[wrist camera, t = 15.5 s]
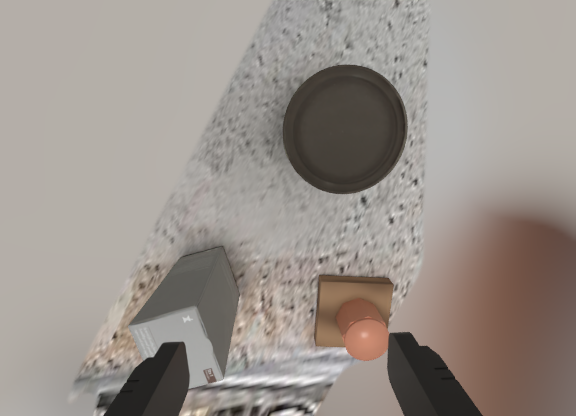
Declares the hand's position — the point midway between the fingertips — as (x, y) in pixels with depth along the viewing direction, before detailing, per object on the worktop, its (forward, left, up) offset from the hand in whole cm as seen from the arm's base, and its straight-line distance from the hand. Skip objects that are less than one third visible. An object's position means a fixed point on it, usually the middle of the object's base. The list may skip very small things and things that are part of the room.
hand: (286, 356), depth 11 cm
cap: (+15, +11, -26) cm, 32 cm away
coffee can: (-10, +4, -29) cm, 30 cm away
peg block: (+14, +10, -28) cm, 33 cm away
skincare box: (+10, -10, -29) cm, 32 cm away
